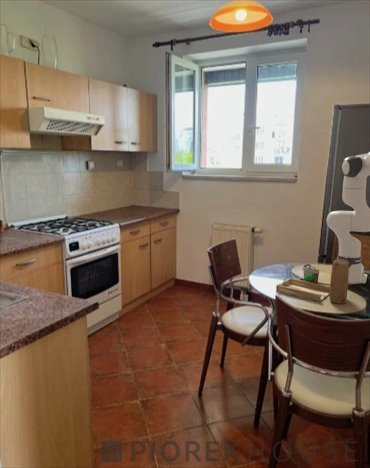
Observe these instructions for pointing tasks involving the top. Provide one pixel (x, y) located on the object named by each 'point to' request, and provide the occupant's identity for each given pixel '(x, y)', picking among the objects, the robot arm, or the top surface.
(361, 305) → the top surface
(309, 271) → the food container
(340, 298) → the block
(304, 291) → the wooden tray
